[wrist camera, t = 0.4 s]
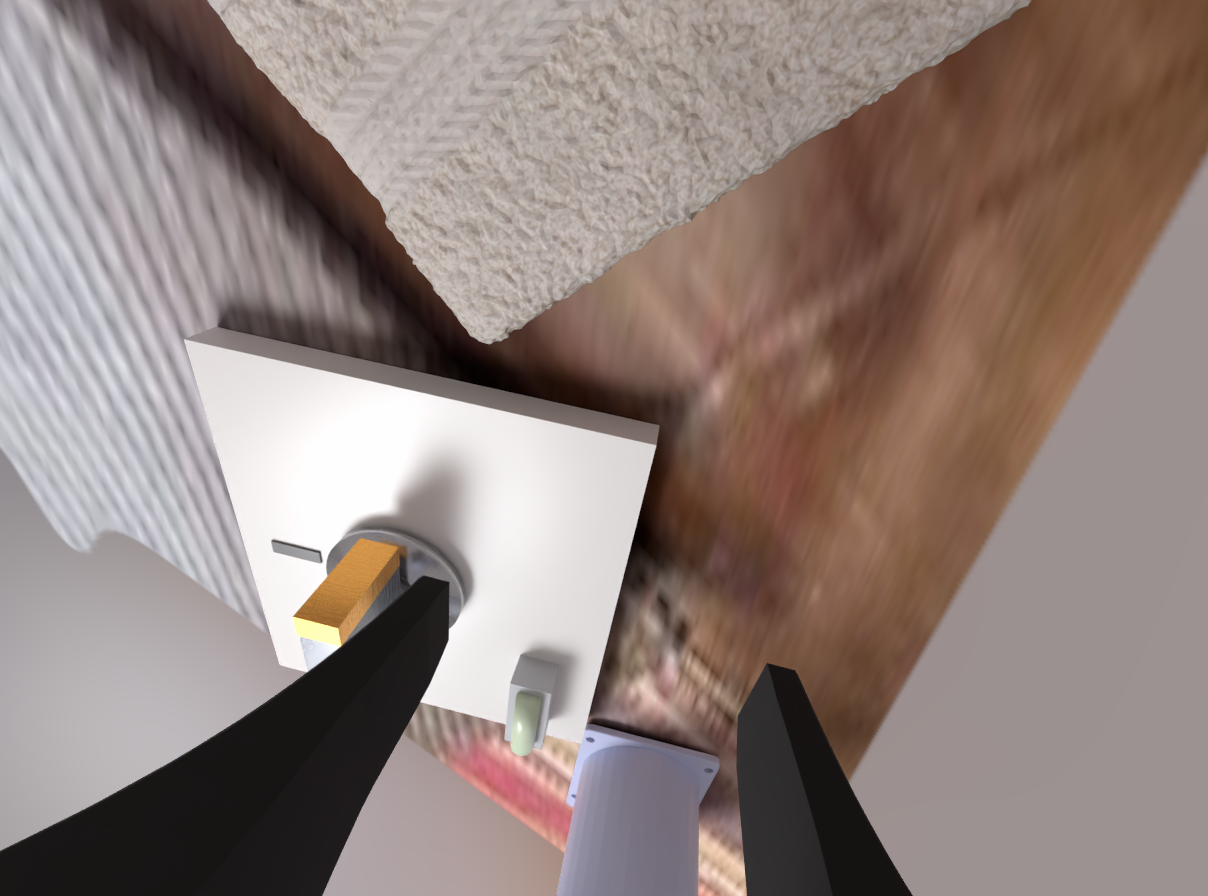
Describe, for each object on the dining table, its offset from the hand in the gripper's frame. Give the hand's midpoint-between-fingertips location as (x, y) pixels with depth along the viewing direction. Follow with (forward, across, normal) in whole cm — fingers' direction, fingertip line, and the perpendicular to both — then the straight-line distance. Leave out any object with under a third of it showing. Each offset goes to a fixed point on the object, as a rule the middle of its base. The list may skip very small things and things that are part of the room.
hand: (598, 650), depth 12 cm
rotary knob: (+8, +9, +9) cm, 16 cm away
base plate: (+10, +8, +9) cm, 16 cm away
